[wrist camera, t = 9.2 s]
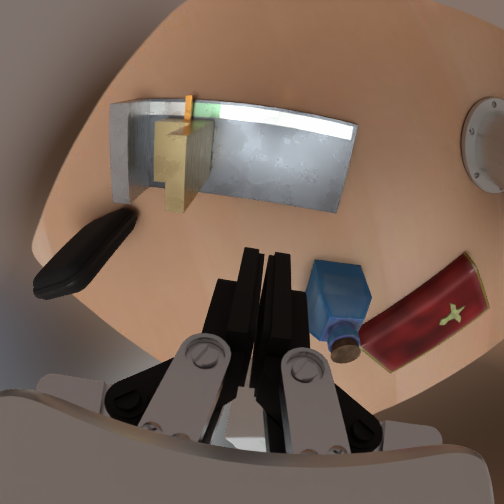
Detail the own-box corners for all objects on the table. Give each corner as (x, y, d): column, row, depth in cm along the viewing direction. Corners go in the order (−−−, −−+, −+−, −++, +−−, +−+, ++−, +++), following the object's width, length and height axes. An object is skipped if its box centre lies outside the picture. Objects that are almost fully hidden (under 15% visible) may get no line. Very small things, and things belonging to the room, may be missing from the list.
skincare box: (286, 377, 49) (284, 453, 36) (254, 383, 51) (246, 455, 38) (271, 353, 46) (265, 438, 32) (235, 359, 47) (223, 440, 34)
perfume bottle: (314, 259, 35) (325, 332, 25) (360, 265, 35) (384, 336, 25) (304, 296, 38) (309, 369, 28) (346, 301, 38) (361, 371, 28)
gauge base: (355, 123, 25) (373, 133, 20) (334, 209, 31) (345, 236, 26) (138, 98, 26) (109, 104, 20) (137, 182, 31) (113, 202, 26)
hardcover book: (353, 327, 41) (357, 348, 38) (463, 249, 32) (476, 266, 29) (385, 356, 45) (390, 374, 42) (480, 292, 36) (490, 309, 32)
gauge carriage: (216, 96, 24) (189, 100, 17) (209, 176, 29) (183, 213, 21) (168, 94, 24) (124, 101, 17) (164, 172, 29) (126, 205, 21)
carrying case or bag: (91, 241, 36) (33, 309, 24) (81, 223, 35) (17, 288, 23) (146, 220, 34) (86, 298, 21) (135, 199, 32) (66, 270, 20)
